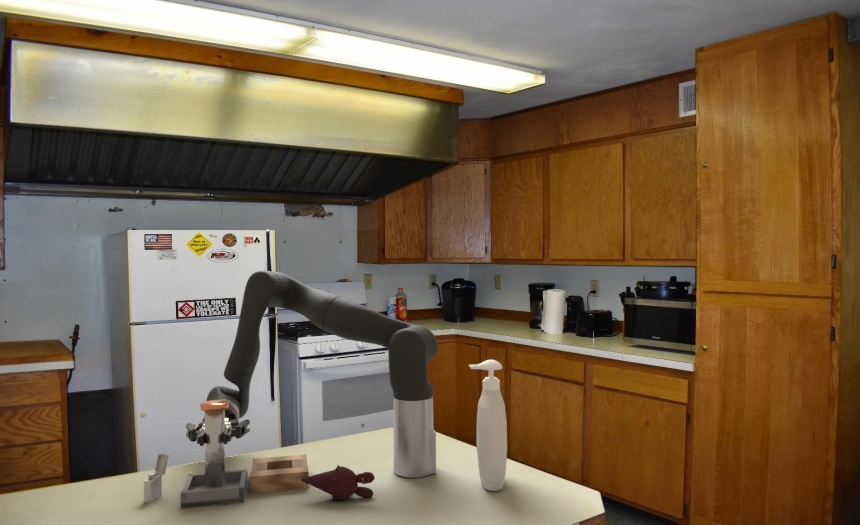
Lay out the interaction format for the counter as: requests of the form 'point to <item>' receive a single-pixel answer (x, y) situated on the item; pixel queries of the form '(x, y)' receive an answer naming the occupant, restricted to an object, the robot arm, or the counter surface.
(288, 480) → the hitch block
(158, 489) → the lighter
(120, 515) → the counter surface
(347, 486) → the icecream
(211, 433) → the pin
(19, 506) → the counter surface
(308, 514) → the counter surface
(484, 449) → the soap bottle
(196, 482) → the tray
